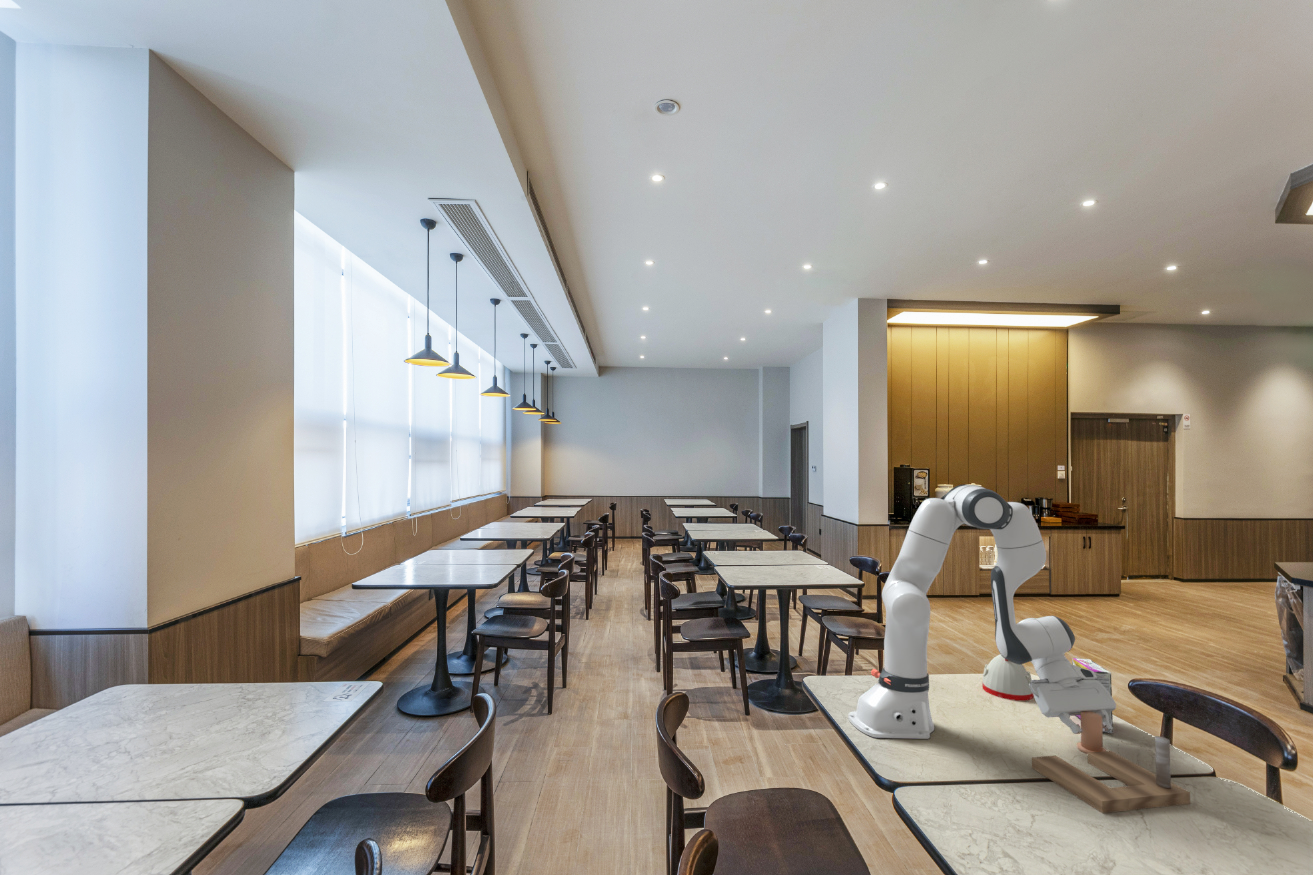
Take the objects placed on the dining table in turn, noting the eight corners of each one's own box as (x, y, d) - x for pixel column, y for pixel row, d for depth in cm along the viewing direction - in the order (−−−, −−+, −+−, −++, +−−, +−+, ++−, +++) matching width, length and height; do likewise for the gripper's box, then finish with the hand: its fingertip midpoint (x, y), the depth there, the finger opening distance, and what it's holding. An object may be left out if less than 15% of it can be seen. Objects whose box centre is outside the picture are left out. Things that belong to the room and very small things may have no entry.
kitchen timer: (1033, 689, 186) (1032, 642, 187) (1033, 704, 174) (1033, 653, 175) (983, 680, 193) (983, 635, 194) (981, 693, 182) (980, 645, 182)
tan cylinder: (1092, 757, 143) (1091, 720, 143) (1071, 745, 148) (1070, 710, 149) (1113, 755, 144) (1112, 718, 144) (1091, 744, 149) (1090, 708, 150)
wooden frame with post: (1102, 812, 120) (1100, 751, 120) (1032, 767, 137) (1031, 714, 138) (1190, 803, 123) (1188, 744, 124) (1110, 760, 141) (1109, 709, 142)
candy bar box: (1072, 714, 167) (1071, 657, 168) (1091, 716, 166) (1090, 658, 167) (1093, 732, 156) (1091, 670, 157) (1114, 734, 155) (1112, 672, 156)
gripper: (1032, 674, 152) (1065, 729, 142) (1099, 670, 155) (1136, 724, 145) (1019, 685, 156) (1050, 739, 146) (1084, 681, 159) (1119, 734, 149)
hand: (1093, 731), depth 146 cm, fingers open, 8 cm apart
